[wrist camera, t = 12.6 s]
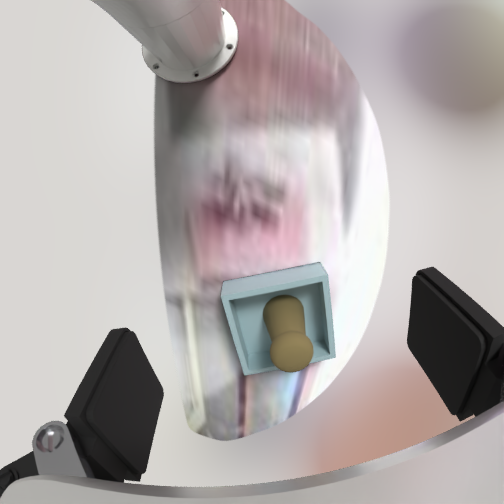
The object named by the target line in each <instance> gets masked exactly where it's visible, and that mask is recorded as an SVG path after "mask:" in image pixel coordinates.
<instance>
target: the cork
mask: <svg viewBox="0 0 504 504" xmlns="http://www.w3.org/2000/svg"><path fill="white" fill-rule="evenodd" d="M263 319H264V322H265V325H266V327H267V330H268V333H269V336H270V339H271V341H272V343H271V347H270V358H271V361H272V362H273V364H274V365H275V366H276V367H277V368H278V369H280V370H282V371H285V372H297V371H300V370H302V369H304V368H305V367H306V366H307V365H308V364H309V363H310V361H311V360H312V357H313V354H314V350H313V344H312V342H311V340H310V339H309V338H308V337H307V336H306V330H305V316H304V307H303V305H302V303H301V301H300V300H299V299H297V298H296V297H294V296H291V295H278V296H276V297H274V298H272V299H270V300H269V301H268V302H267V303H266V305H265V307H264V309H263Z"/></svg>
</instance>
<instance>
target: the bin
mask: <svg viewBox="0 0 504 504" xmlns="http://www.w3.org/2000/svg"><path fill="white" fill-rule="evenodd" d="M278 295H291V296H294V297H296V298H297V299H299V300H300V301H301V303H302V305H303V307H304V316H305V330H306V336H307V337H308V338H309V339H310V340H311V342H312V344H313V350H314V354H313V357H312V360H311V361H310V363H314V362H318V361H323V360H327V359H331V358H335V357H336V356H335V343H334V330H333V319H332V308H331V298H330V289H329V280H328V274H327V272H326V271H325V269H324V267H323V266H322V264H321V263H320V262H317V263H312V264H307V265H302V266H297V267H293V268H288V269H283V270H278V271H273V272H268V273H263V274H258V275H253V276H248V277H243V278H238V279H233V280H227V281H223V286H222V292H221V299H222V302H223V306H224V309H225V313H226V316H227V319H228V323H229V326H230V330H231V333H232V336H233V340H234V343H235V346H236V350H237V353H238V356H239V360H240V363H241V366H242V369H243V373H244V375H250V374H256V373H262V372H268V371H274V370H279V369H278V368H277V367H276V366H275V365H274V364H273V362H272V361H271V358H270V347H271V343H272V341H271V339H270V336H269V333H268V330H267V327H266V325H265V322H264V319H263V309H264V307H265V305H266V303H267V302H268V301H269V300H270V299H272V298H274V297H276V296H278Z"/></svg>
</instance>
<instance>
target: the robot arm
mask: <svg viewBox="0 0 504 504" xmlns="http://www.w3.org/2000/svg"><path fill="white" fill-rule="evenodd" d="M91 1H93V2H94V3H96V4H97V5H98V6H100V7H101V8H102V9H103V10H105V11H106V12H107V13H108V14H109V15H111V16H112V17H113V18H114V19H115V20H116V21H117V22H118V23H119V24H120V25H122V26H123V27H124V28H125V29H126V30H127V31H128V32H129V33H130V34H131V35H132V36H134V37H135V38H136V39H137V40H138V41H139V42H140V43H141V44H142V54H143V57H144V60H145V62H146V64H147V66H148V67H149V68H150V69H151V70H152V71H153V72H154V73H155V74H156V75H158V76H159V77H161V78H163V79H165V80H168V81H171V82H177V83H192V82H196V81H201V80H203V79H206V78H209V77H211V76H212V75H214V74H216V73H218V72H219V71H220V70H221V69H222V68H224V67H225V66H226V65H227V64H228V62H229V61H230V60H231V59H232V57H233V55H234V53H235V51H236V48H237V45H238V29H237V25H236V23H235V21H234V19H233V17H232V16H231V15H230V14H229V13H228V12H227V11H226V10H225V9H223V8H222V7H221V5H220V0H91ZM228 48H232V49H231V50H228ZM158 66H159V68H158V69H156V68H157V67H158ZM196 74H199V76H198V77H195V75H196ZM407 344H408V347H409V349H410V351H411V352H412V354H413V355H414V357H415V358H416V360H417V361H418V363H419V364H420V366H421V367H422V369H423V370H424V372H425V373H426V375H427V376H428V378H429V379H430V381H431V383H432V384H433V386H434V387H435V389H436V390H437V392H438V393H439V395H440V397H441V398H442V400H443V401H444V403H445V405H446V406H447V408H448V410H449V411H450V412H451V414H452V415H456V416H457V417H458V419H459V421H462V420H464V419H466V418H468V417H470V416H472V415H473V414H474V415H475V417H474V418H473V419H471V420H469V421H467V422H465V423H463V424H461V425H459V426H456V427H454V428H452V429H450V430H448V431H446V432H444V433H442V434H440V435H437V436H436V437H433V438H431V439H428V440H426V441H424V442H421V443H419V444H416V445H414V446H412V447H409V448H407V449H404V450H401V451H398V452H396V453H392V454H390V455H387V456H384V457H381V458H378V459H375V460H371V461H368V462H365V463H361V464H358V465H354V466H350V467H347V468H343V469H339V470H335V471H331V472H326V473H322V474H317V475H313V476H307V477H301V478H296V479H290V480H283V481H277V482H269V483H260V484H250V485H238V486H221V487H171V486H154V485H141V484H131V483H124V479H125V480H130V481H140V479H141V475H142V474H143V473H145V472H146V468H147V464H148V459H149V454H150V450H151V446H152V442H153V437H154V433H155V429H156V425H157V420H158V416H159V412H160V408H161V404H162V400H163V396H164V393H163V388H162V386H161V384H160V382H159V380H158V378H157V376H156V374H155V373H154V371H153V369H152V367H151V365H150V363H149V361H148V359H147V357H146V355H145V353H144V351H143V349H142V347H141V345H140V343H139V341H138V338H137V336H136V334H135V333H134V332H133V331H130V330H129V329H128V328H120V329H113V330H111V331H110V332H109V334H108V336H107V337H106V339H105V341H104V342H103V344H102V346H101V348H100V349H99V351H98V353H97V355H96V357H95V358H94V360H93V362H92V363H91V366H90V367H89V369H88V371H87V372H86V374H85V376H84V379H83V380H82V382H81V384H80V385H79V387H78V389H77V391H76V393H75V395H74V397H73V399H72V401H71V403H70V405H69V407H68V409H67V411H66V413H65V415H64V416H65V418H66V419H67V420H68V422H67V424H64V423H63V422H60V421H51V422H48V423H46V424H45V425H43V426H41V427H40V429H38V430H37V432H36V433H35V435H34V438H33V441H32V445H33V451H32V452H30V453H29V454H27V455H25V456H23V457H21V458H20V459H18V460H16V461H14V462H12V463H10V464H8V465H7V466H5V467H3V468H2V469H1V470H0V504H504V327H503V326H502V325H500V324H499V323H498V322H497V321H496V320H495V319H494V318H493V317H492V316H491V315H490V314H489V313H487V312H486V311H485V310H484V309H483V308H482V307H481V306H480V305H479V304H477V303H476V302H475V301H474V300H473V299H472V298H471V297H469V296H468V295H467V294H466V293H465V292H464V291H462V290H461V289H460V288H459V287H458V286H457V285H455V284H454V283H453V282H451V281H450V280H449V279H448V278H447V277H446V276H444V275H443V274H442V273H441V272H439V271H438V270H437V269H436V268H434V267H429V268H426V269H422V270H419V271H417V273H416V276H414V277H413V279H412V294H411V307H410V318H409V328H408V337H407Z"/></svg>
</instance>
